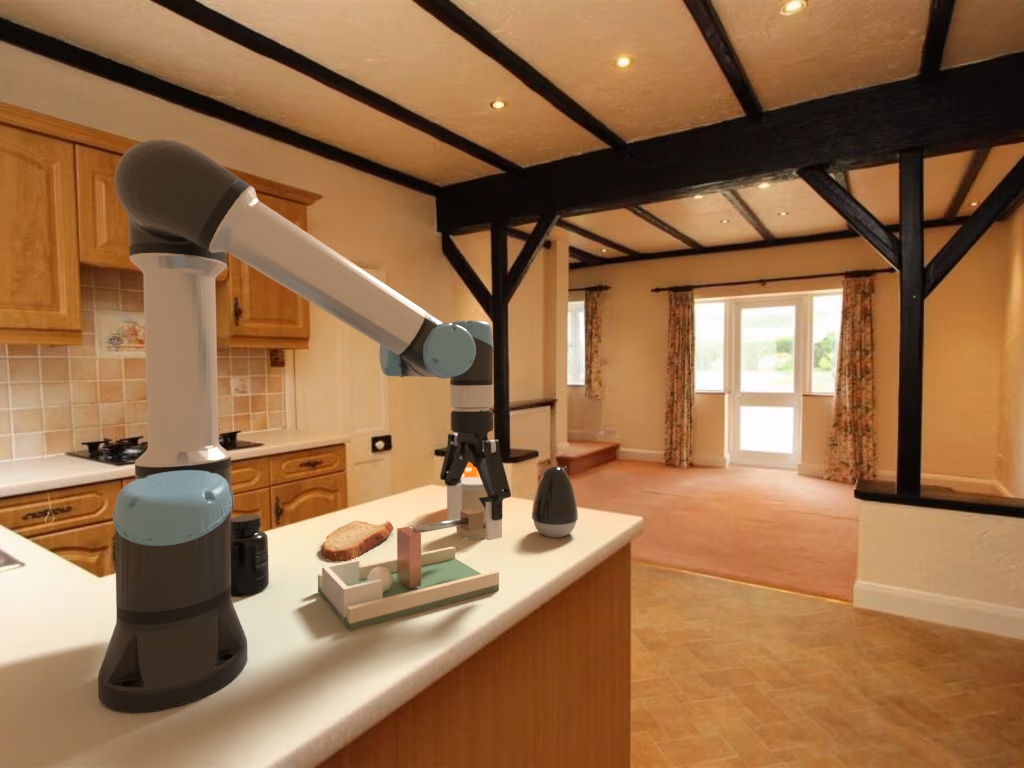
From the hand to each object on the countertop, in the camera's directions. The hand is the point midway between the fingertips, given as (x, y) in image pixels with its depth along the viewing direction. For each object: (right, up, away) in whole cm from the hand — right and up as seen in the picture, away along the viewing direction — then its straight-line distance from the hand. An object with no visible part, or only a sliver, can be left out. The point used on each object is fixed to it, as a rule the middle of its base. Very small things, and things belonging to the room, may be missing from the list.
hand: (473, 528), depth 96 cm
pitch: (-10, -9, -7) cm, 15 cm away
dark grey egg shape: (+16, -8, +25) cm, 31 cm away
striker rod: (-5, -7, -3) cm, 9 cm away
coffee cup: (-2, -8, +25) cm, 26 cm away
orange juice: (-5, -7, +45) cm, 46 cm away
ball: (-14, -6, -10) cm, 18 cm away
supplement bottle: (-37, -9, -6) cm, 39 cm away
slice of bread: (-25, -9, +18) cm, 32 cm away
